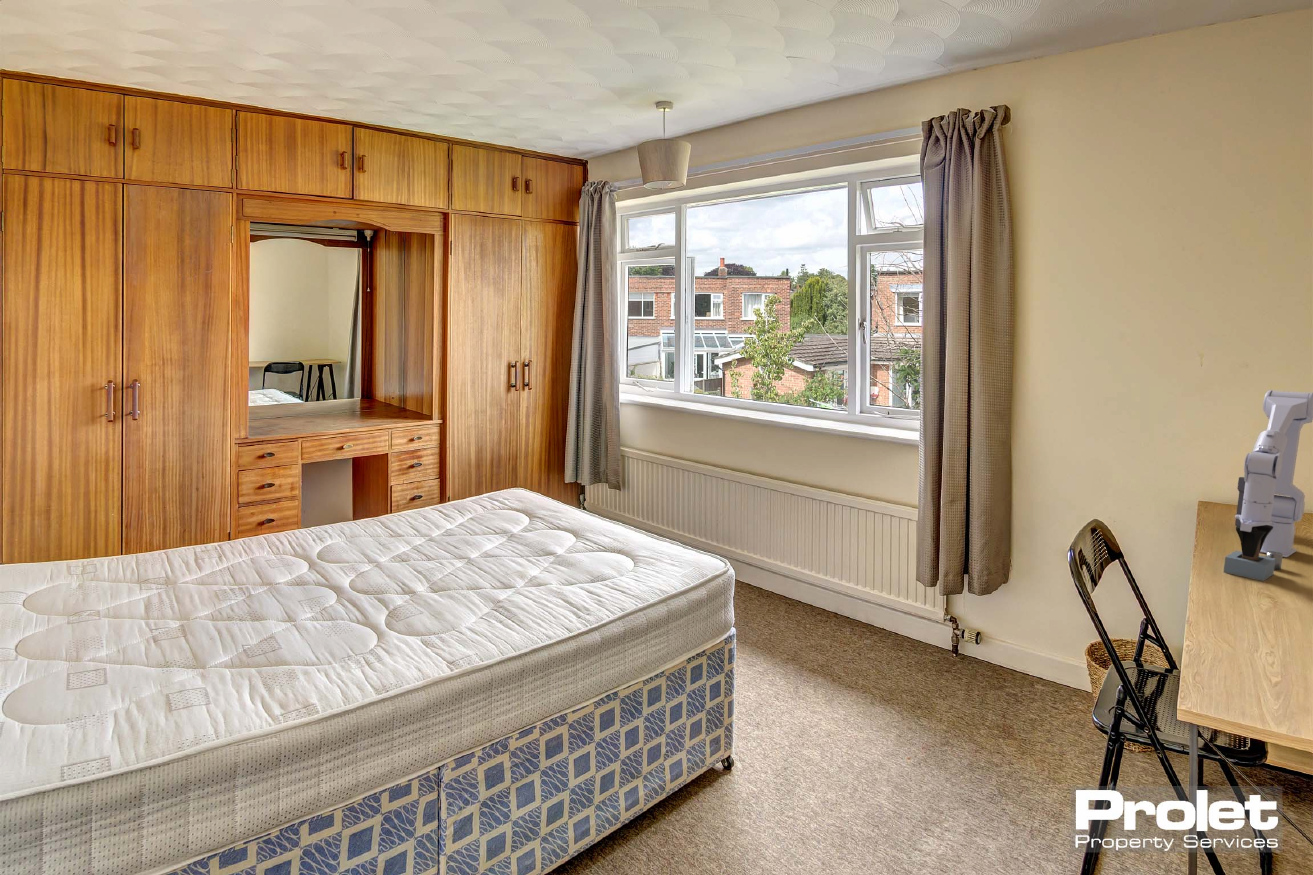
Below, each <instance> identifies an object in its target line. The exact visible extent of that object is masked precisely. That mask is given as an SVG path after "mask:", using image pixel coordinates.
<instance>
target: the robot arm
mask: <svg viewBox="0 0 1313 875" xmlns="http://www.w3.org/2000/svg"><path fill="white" fill-rule="evenodd" d="M1262 403H1263V404H1262V410H1263V412H1264V414H1265V415H1266V417H1267V419H1268V424H1267V428H1266V430H1263V431H1262V432H1260V433H1259V434H1258V437H1257V440H1256V441H1255V443H1254V446H1253V449H1252V452H1251V453H1250V452H1247V454H1246V456H1245V459H1244V463H1243V470H1244V472H1243V473H1244V475H1243V477H1244V481H1246V482H1245V489H1244V497H1243V505H1242V513H1241V515H1236V514H1235V515H1234V519H1235V520H1236V519H1240V521H1241V526H1236V527H1235V532H1236V533H1237V535H1238V537H1239V538H1238V539H1239V542H1240V546H1241V552H1242V554H1243V556H1248V557H1254V555H1255V553H1256V551H1257V547H1258V544H1259V542H1260V540H1261V543H1260V550H1259V554H1260V553H1262V554H1266V552H1267V551H1275V552H1279V553H1282V554H1283V557H1282V558H1289V557H1290V556H1291V555H1293V554H1294V553H1296V552H1297V551H1298V549H1297V548H1294V547H1293V546H1294V540H1295V532H1296V526H1295V523H1296V522H1299V521H1301V520H1302V519H1303V516H1304V511H1305V505H1306V504H1305V498H1306V496H1305V493H1304V491H1303V490H1301V489H1299V488H1298V486H1296V485H1294V476H1295V470H1296V464H1297V456H1298V450H1299V449H1298V448H1299V443H1300V435H1301V431H1302V429H1303V426H1304V425H1305V424H1309V423H1312V422H1313V392H1300V391H1299V392H1298V391H1284V390H1283V391H1282V390H1272V389H1270V390H1268V391H1266V392H1265V395H1264V397H1263V402H1262Z"/></svg>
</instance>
